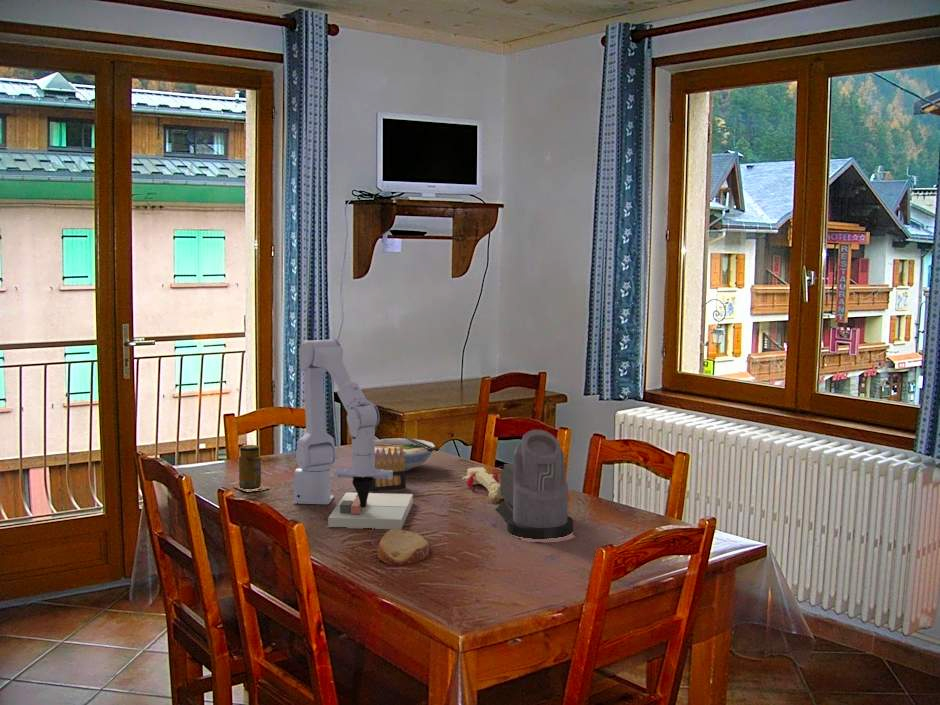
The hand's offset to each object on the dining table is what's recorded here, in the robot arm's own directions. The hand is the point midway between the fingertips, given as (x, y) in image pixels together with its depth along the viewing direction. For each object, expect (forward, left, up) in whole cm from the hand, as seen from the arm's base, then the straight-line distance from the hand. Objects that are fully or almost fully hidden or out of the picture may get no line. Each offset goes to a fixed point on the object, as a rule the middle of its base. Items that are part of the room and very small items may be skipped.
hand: (363, 506), depth 251 cm
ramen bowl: (+1, +56, -4) cm, 56 cm away
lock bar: (-2, +3, -1) cm, 3 cm away
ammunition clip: (+1, +32, -4) cm, 32 cm away
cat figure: (+29, +33, -4) cm, 44 cm away
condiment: (-37, +29, -4) cm, 47 cm away
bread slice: (+12, -22, -4) cm, 25 cm away
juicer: (+42, +1, -4) cm, 43 cm away
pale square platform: (+1, +6, -4) cm, 7 cm away
